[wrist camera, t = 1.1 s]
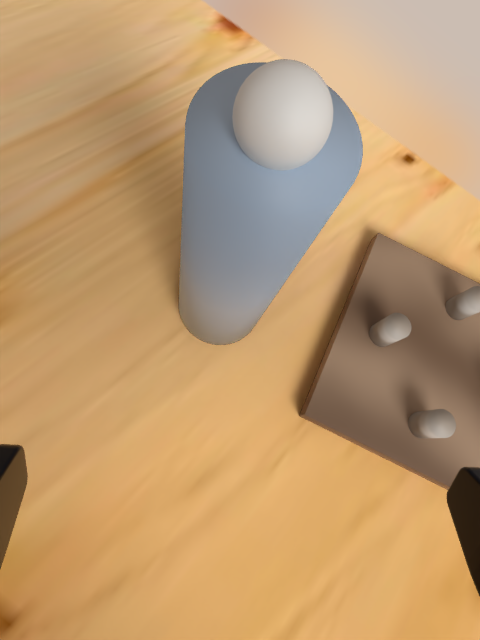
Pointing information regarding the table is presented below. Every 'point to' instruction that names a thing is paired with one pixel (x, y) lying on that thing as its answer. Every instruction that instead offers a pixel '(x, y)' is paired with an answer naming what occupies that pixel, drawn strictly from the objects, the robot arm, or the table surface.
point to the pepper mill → (257, 189)
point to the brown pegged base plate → (405, 365)
